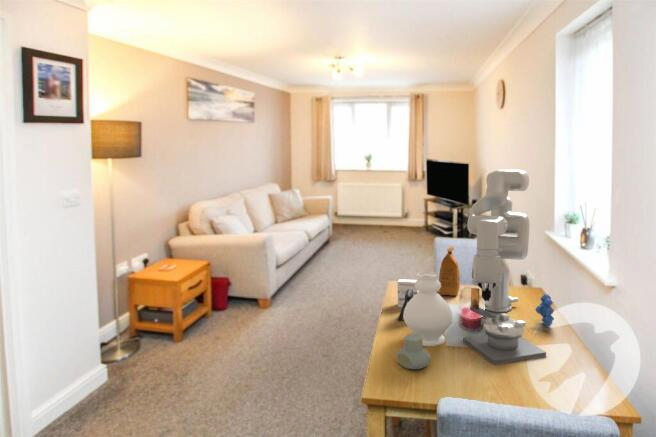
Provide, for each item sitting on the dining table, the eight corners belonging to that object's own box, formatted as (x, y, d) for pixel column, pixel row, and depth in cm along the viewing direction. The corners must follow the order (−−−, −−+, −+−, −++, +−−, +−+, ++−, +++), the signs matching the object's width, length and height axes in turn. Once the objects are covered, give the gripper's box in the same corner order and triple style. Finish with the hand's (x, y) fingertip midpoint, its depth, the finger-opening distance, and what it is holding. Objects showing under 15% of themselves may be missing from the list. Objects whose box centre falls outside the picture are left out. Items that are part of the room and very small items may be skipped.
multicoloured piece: (531, 335, 171) (532, 303, 169) (501, 342, 166) (502, 309, 164) (485, 314, 192) (486, 285, 190) (458, 320, 187) (458, 290, 185)
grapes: (531, 318, 202) (532, 290, 200) (548, 319, 201) (549, 290, 199) (538, 329, 191) (539, 299, 189) (556, 330, 190) (558, 300, 188)
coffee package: (462, 290, 241) (462, 245, 238) (458, 298, 230) (458, 251, 226) (441, 288, 245) (441, 244, 241) (436, 295, 234) (436, 250, 230)
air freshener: (434, 368, 162) (434, 339, 161) (416, 375, 158) (416, 345, 156) (410, 356, 171) (410, 329, 170) (392, 363, 166) (392, 335, 165)
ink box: (418, 304, 223) (418, 279, 221) (417, 308, 218) (417, 282, 216) (398, 303, 225) (398, 278, 223) (397, 307, 220) (397, 281, 218)
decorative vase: (398, 345, 180) (398, 279, 176) (409, 327, 196) (408, 266, 192) (448, 352, 174) (449, 283, 170) (455, 332, 190) (455, 269, 186)
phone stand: (421, 317, 207) (420, 289, 205) (419, 322, 202) (419, 294, 200) (399, 315, 210) (399, 288, 208) (397, 321, 204) (397, 293, 202)
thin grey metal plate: (510, 334, 187) (510, 319, 186) (546, 356, 168) (546, 339, 167) (462, 341, 182) (462, 325, 181) (493, 364, 163) (494, 347, 162)
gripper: (505, 249, 187) (503, 296, 190) (464, 250, 188) (463, 296, 191) (510, 254, 179) (509, 303, 182) (468, 254, 181) (467, 303, 183)
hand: (486, 299), depth 187 cm, fingers closed
